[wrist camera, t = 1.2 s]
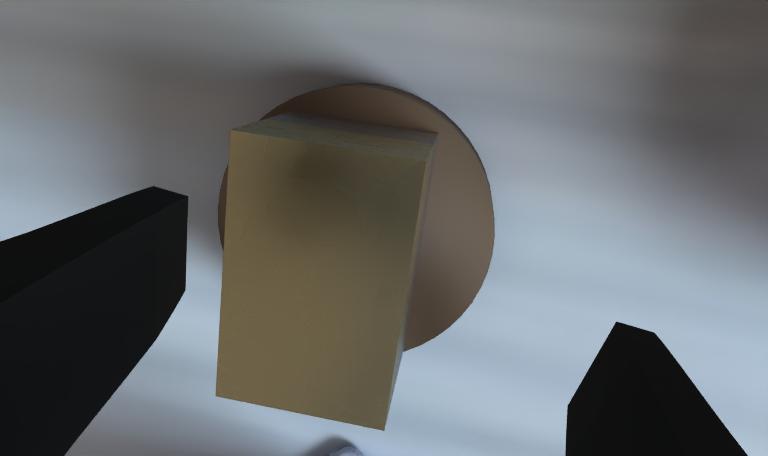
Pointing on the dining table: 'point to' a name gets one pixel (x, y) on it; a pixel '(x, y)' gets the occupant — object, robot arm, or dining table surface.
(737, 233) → the dining table surface
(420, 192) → the block
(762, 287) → the dining table surface
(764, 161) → the dining table surface
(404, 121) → the stand
